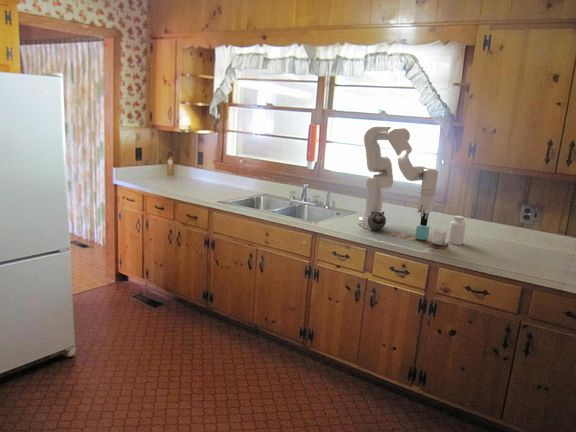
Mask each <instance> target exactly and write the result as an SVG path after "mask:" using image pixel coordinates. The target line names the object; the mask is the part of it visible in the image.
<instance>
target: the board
mask: <svg viewBox="0 0 576 432" xmlns="http://www.w3.org/2000/svg"><path fill="white" fill-rule="evenodd" d="M389 236H390V237H394V238H395V237H396V238H399V239H402V240H408V241H412V242H416V243H420V244H424V245H428V246H429V247H430V248H432V249H437V250H443V249H445V248H446V247H448V246H449V242H448V243H446V242H445V243H444V246H443V247H437V246H434V245H432V238H431V239H430V238H427V241H426V242H421V241H417V240H416V238H415V236H416V235H413V234H409V233H404V232H402V231H395V232H392V233H390V234H389Z"/></svg>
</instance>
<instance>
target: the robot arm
mask: <svg viewBox="0 0 576 432" xmlns="http://www.w3.org/2000/svg"><path fill="white" fill-rule="evenodd" d="M410 137H411V134H410V131H409V130H408V129H407V128H405V127H399V126H393V125H383V124H374V125H370V126H369V127H368V128H367V129H366V130H365V132H364V135H363V143H364V148H365V157H366V165H367V170H368V171H369V172H371V173H376V174H372V175H370V176H368V178H367V179H366V185H365V186H366V199H365V209H364V217H358V222H361V224H360V226H361V227H362V228H364V229H369V228H370V229H372V228H371V227H370V226H369V225H368V217H369V216H370V214H371V211H372V212H380V213H382V210H383V209H382V208H383V200H384V199H383V198H384V197H383V192H382V191H385V190H387V191H388V190H389V189H391V188H392V186H393V184H394V175H393V165H392V164H393V163H392V161H391V159H390V158H389V157H388V156H386V155H382V152H381V147H380V144H379V143H378V141H388V142H389V144H390V146H391V147H392V148H393V150H394V152H395V153H396V155H397V163H398V164H397V165H398V168H399V170H400V172H401V173H402V175H403V177H404V178H405V179H406V180H407V181H409V182H414V181H415V182H416V181H418V182H419V181H421V186H420V188H421V189H420V194H419V195H420V196H419V200H418V205H417V209H416V211H417V213H420V214H419V216H420V222H419V223H420V224H419V225H423V226H428V220H429V216H430V213H431V212H432V211H433V209H434V200H435V199H434V198H435V196H436V191H437V184H438V178H439V177H438V176H439V171H438V169H435V168H427V167H425V166H413V164H412V162H411V161H410V159H409V155H410V154H411V152H412V151H413V148H412V146H411V145H410V142H409V140H410ZM377 173H378V174H377Z"/></svg>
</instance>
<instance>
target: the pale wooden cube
mask: <svg viewBox="0 0 576 432" xmlns="http://www.w3.org/2000/svg"><path fill="white" fill-rule="evenodd" d="M446 237H447V230H443V229H438V228H436V229H433V230H432V238H431V240H432V245H434V246H437V247H443V246H444V243H446Z"/></svg>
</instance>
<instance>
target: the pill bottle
mask: <svg viewBox="0 0 576 432" xmlns="http://www.w3.org/2000/svg"><path fill="white" fill-rule="evenodd" d="M464 221H465V217H464V216H462V215H454V216H453V220H451V221H450V224H449V229H448V236H447V242H448V244H452V245H456V246H458V245H459V246H462V245H463V244H464V239H465V237H464V236H465V233H466V232H465V231H466V222H464Z"/></svg>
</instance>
